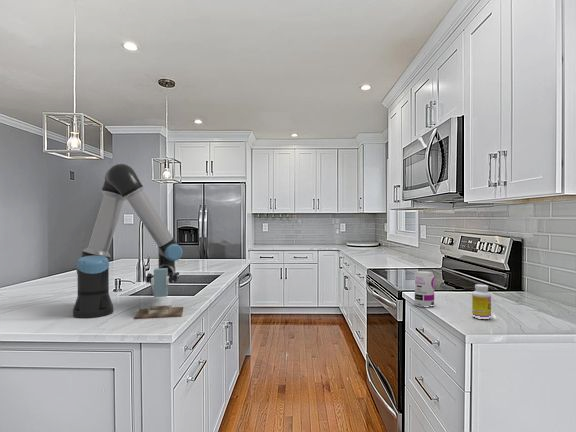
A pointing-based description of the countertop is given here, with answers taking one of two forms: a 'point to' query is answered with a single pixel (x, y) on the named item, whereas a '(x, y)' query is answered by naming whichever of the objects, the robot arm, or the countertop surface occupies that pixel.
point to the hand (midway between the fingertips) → (159, 282)
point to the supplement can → (424, 288)
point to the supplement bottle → (481, 301)
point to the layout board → (159, 312)
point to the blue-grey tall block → (160, 282)
